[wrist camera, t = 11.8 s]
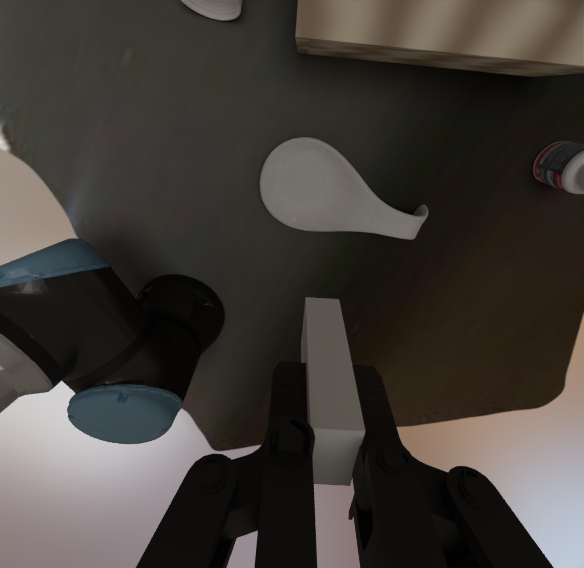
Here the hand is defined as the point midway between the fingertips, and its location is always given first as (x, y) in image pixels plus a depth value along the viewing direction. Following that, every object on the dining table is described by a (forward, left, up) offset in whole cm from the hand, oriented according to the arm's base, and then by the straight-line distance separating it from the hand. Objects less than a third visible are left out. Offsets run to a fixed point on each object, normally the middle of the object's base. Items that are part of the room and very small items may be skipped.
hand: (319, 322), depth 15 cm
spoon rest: (+5, -2, -34) cm, 35 cm away
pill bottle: (+32, +4, -34) cm, 47 cm away
